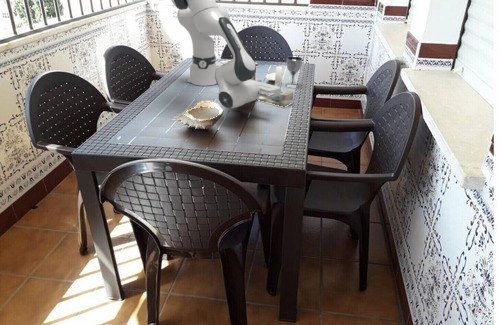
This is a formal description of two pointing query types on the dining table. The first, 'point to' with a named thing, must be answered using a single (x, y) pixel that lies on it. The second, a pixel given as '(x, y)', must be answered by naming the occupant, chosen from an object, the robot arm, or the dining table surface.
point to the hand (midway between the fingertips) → (268, 83)
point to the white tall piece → (278, 79)
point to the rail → (283, 99)
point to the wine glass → (294, 65)
